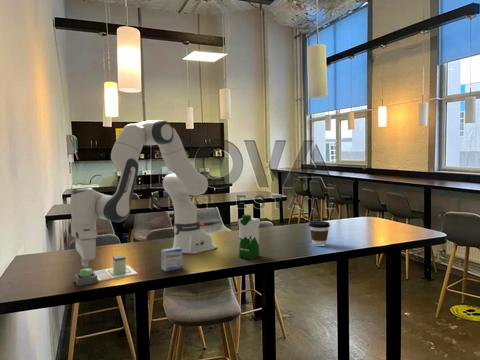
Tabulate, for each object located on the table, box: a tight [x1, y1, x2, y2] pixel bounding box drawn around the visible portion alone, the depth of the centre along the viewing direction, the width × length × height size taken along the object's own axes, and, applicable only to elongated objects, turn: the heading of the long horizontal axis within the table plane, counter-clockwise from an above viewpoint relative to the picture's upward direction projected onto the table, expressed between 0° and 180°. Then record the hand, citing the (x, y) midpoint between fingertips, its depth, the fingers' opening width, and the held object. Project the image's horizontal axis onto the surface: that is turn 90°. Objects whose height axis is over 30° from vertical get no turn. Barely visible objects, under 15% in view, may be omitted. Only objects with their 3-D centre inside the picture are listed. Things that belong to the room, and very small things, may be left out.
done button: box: [79, 267, 93, 278], centre depth 143 cm, size 4×4×3 cm
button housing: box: [74, 270, 99, 287], centre depth 143 cm, size 7×7×2 cm
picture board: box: [93, 264, 138, 283], centre depth 152 cm, size 15×13×1 cm
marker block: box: [112, 254, 127, 273], centre depth 153 cm, size 4×4×6 cm
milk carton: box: [237, 214, 261, 260], centre depth 173 cm, size 9×9×20 cm
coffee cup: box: [308, 220, 331, 245], centre depth 193 cm, size 11×11×12 cm
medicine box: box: [160, 247, 183, 272], centre depth 157 cm, size 8×4×9 cm, turn 126°
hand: (85, 266), depth 142 cm, fingers closed
